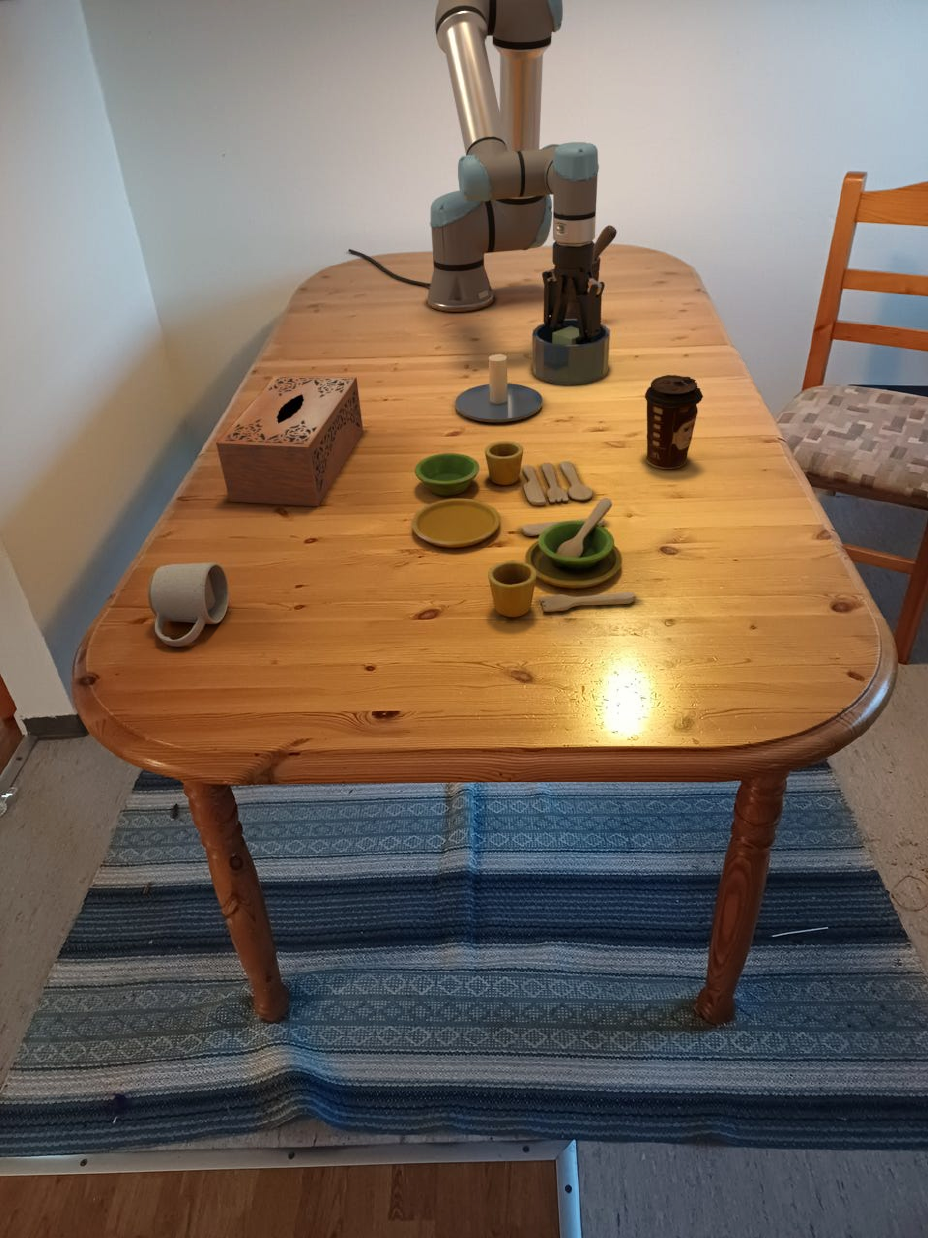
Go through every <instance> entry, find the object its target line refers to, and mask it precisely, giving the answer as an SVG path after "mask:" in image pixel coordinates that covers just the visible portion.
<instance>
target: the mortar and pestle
mask: <svg viewBox="0 0 928 1238" xmlns="http://www.w3.org/2000/svg"><path fill="white" fill-rule="evenodd" d="M617 233H618V231H617V229H616V228H615V226H613V225H607V226H605V227H604V228H603V229H602V231H601V232H600V234H599V235H598V237H597V239H596V241H595V242H594V243H595V250H594V262H593V264H592V267H591V271H592V275H593V279H594V280H596V281H597V282H599V279H600V270H601V257H600V256H601V255H602V254H603V252H604V251H605V250H606V249H607V248H608V247H609V245H610V244H611V243H612V242H613V240H614V239H615V238H616V236H617ZM588 289H589V286H588ZM581 295H582V294H581ZM578 296H580V295H578ZM565 319H577V317H576V310H575V304H574V302H573V301H572V297H571V295H570V298H569V302H568V307H567V311H566V316H565Z"/></svg>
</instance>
